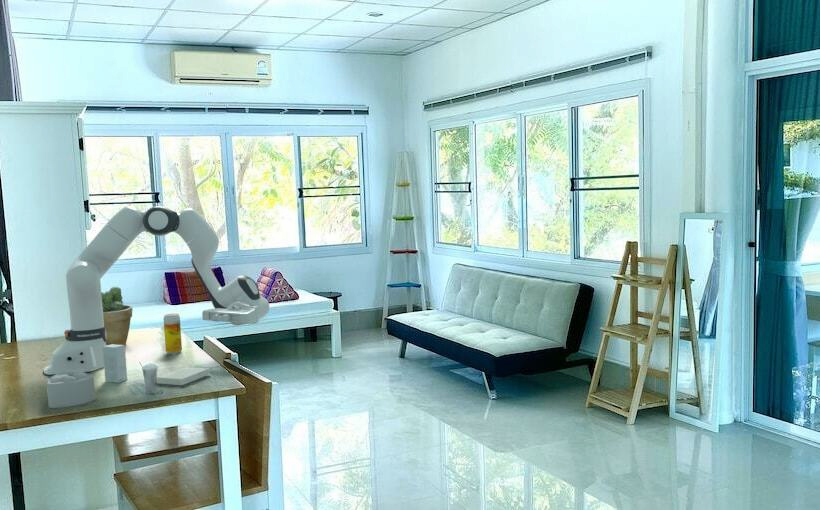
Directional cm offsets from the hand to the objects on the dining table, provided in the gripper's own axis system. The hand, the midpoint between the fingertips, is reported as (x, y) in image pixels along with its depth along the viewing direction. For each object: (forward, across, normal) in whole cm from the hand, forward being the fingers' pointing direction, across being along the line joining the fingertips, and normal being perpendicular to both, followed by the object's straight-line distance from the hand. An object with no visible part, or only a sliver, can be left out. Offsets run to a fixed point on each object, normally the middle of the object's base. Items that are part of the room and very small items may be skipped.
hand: (215, 319), depth 263 cm
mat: (+20, +1, +17) cm, 26 cm away
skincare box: (+26, -22, +18) cm, 38 cm away
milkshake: (+35, 0, +18) cm, 39 cm away
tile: (+12, +1, +16) cm, 20 cm away
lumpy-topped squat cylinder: (+49, -17, +19) cm, 55 cm away
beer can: (-15, -32, +18) cm, 40 cm away
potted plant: (-20, -68, +18) cm, 73 cm away
